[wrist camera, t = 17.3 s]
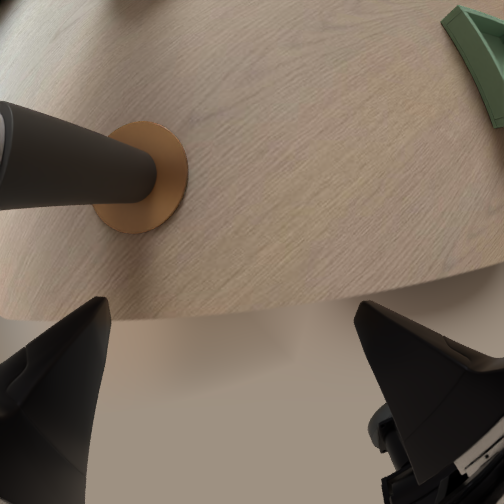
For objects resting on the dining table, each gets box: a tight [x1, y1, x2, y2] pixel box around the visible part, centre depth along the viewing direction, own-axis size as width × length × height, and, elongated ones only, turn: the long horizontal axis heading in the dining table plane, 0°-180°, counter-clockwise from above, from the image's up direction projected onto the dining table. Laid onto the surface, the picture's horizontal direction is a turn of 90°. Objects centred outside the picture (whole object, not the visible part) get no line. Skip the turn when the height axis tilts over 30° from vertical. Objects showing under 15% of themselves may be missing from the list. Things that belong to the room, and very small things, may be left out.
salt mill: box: [0, 101, 157, 210], centre depth 11 cm, size 4×4×14 cm
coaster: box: [92, 121, 188, 234], centre depth 18 cm, size 8×8×1 cm
